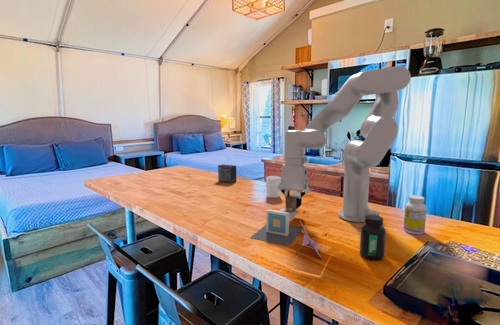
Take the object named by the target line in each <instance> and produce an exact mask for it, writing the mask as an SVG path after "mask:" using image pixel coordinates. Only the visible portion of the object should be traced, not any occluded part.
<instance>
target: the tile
mask: <svg viewBox="0 0 500 325" xmlns="http://www.w3.org/2000/svg"><path fill="white" fill-rule="evenodd" d="M265 214H266V215H265V217H266V223H265V225H266V232H270V233H275V234H280V235H285V236H288V235H289V226H290V219H289V212H282V211H280V210H276V209H275V210H273V209H270V208H269V209H266V212H265Z"/></svg>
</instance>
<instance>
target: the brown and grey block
mask: <svg viewBox="0 0 500 325" xmlns="http://www.w3.org/2000/svg"><path fill="white" fill-rule="evenodd" d="M289 194H290V195H289V196H288V197H287V198H286V204H285V208H280V209H279V211H282V212H289V220H290V221H291V220H293V219H294V218H295V217H296V216H298V214H299V212H300V211H299V210H298V209H299V208H296V205H297V198H298V195H297V191H296V192H295V191H293V192H292V193H291V192H290V193H289Z"/></svg>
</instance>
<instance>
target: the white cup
mask: <svg viewBox="0 0 500 325" xmlns="http://www.w3.org/2000/svg"><path fill="white" fill-rule="evenodd" d="M280 182H281V176H278V175H269V176H266V177H265V186H266V197H267V198H269V199H276V198H280V197H281V191H280V190H279V189H278V188H277V187H278V186H279V184H280Z"/></svg>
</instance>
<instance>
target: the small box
mask: <svg viewBox="0 0 500 325" xmlns="http://www.w3.org/2000/svg"><path fill="white" fill-rule="evenodd" d="M217 168H218V169H217V172H218V173H217V174H218V175H217V176H218V179H217V180H218V182H222V183H229V184H232V183H235V182H237V165H233V164H225V163H224V164H219V165H217Z"/></svg>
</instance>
